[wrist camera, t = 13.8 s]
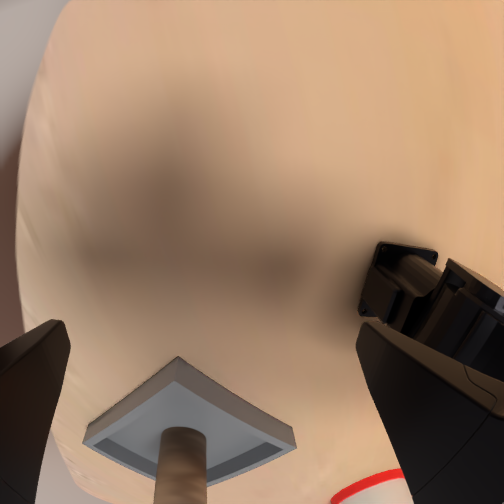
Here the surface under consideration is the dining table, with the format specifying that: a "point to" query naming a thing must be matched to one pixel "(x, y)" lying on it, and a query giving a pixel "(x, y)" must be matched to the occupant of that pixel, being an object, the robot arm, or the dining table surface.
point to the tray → (188, 425)
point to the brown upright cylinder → (181, 467)
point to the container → (376, 490)
